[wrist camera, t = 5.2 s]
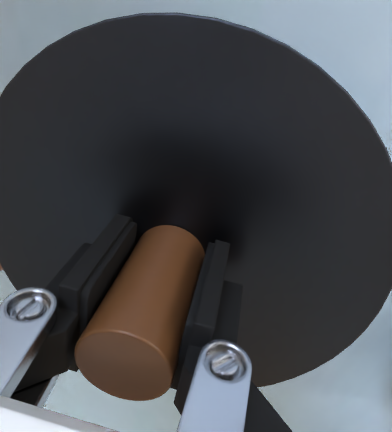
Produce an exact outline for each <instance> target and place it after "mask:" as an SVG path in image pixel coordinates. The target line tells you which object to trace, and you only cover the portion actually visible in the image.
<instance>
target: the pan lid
mask: <svg viewBox="0 0 392 432" xmlns="http://www.w3.org/2000/svg"><path fill="white" fill-rule="evenodd" d="M116 214H119V215H123V216H127V217H131V218H132V219H133V222H134V223H137V230H136V239H135V248H134V249H133V251H132V253H131V254H130V256H129V258H128V259H127V261H126V262H125V264H124V266H123V267H122V269H121V271H120V272H119V274H118V276H117V277H116V279H115V281H114V282H113V284H112V285H111V287H110V289H109V290H108V292H107V294H106V295H105V297H104V299H103V300H102V302H101V304H100V305H99V307H98V308H97V310H96V312H95V313H94V315H93V317H92V318H91V320H90V322H89V323H88V325H87V326H86V328H85V330H84V331H83V333H82V335H81V336H80V338H79V340H78V341H77V343H76V346H75V352H74V357H75V361H76V364H77V367H78V368H79V370H80V372H81V373H82V374H83V376H84V377H85V378H86V379H87V380H88V381H89V382H91V383H92V384H93V385H94V386H96V387H97V388H99V389H100V390H102V391H104V392H106V393H108V394H110V395H113V396H115V397H118V398H122V399H126V400H133V401H146V400H152V399H155V398H158V397H160V396H162V395H163V394H164V393H166V391H167V390H168V389H169V388H170V386H171V385H172V382H173V379H174V375H175V372H176V368H177V364H178V361H179V349H180V345H181V341H182V336H183V332H184V328H185V324H186V320H187V317H188V313H189V309H190V306H191V302H192V299H193V295H194V292H195V288H196V285H197V281H198V278H199V274H200V271H201V267H202V264H203V260H204V257H205V254H206V250H207V247H208V243H209V242H211V243H215V240H219V241H223V242H227V243H230V249H229V254H228V259H227V265H226V270H225V276H224V280H227V281H230V282H234V283H238V284H241V285H243V293H242V302H241V311H240V321H239V330H238V340H237V344H238V345H239V346H240V347H241V348H243V349H244V350H245V352H246V353H247V354H248V356H249V358H250V361H251V365H252V372H251V381H252V382H253V383H254V384H255V386H256V387H262V386H267V385H272V384H276V383H279V382H282V381H286V380H289V379H292V378H295V377H297V376H300V375H302V374H304V373H307V372H309V371H311V370H314V369H315V368H317V367H319V366H320V365H322V364H324V363H326V362H327V361H329V360H331V359H333V358H334V357H335V356H337V355H338V354H339V353H340V352H342V351H343V350H344V349H346V348H347V347H348V346H350V345H351V344H352V343H353V342H354V341H355V340H356V339H357V338H358V337H359V336H360V335H361V334H362V333H363V332H364V331H365V330H366V329H367V327H368V326H369V325H370V323H371V322H372V321H373V319H374V318H375V317H376V315H377V314H378V313H379V311H380V310H381V308H382V306H383V304H384V302H385V300H386V299H387V297H388V295H389V293H390V291H391V289H392V162H391V159H390V156H389V154H388V151H387V149H386V147H385V145H384V143H383V142H382V140H381V138H380V136H379V135H378V133H377V131H376V129H375V128H374V126H373V124H372V122H371V121H370V119H369V118H368V117H367V115H366V114H365V113H364V112H363V110H362V109H361V108H360V107H359V105H358V104H357V103H356V102H355V100H354V99H353V98H352V97H351V95H350V94H349V93H348V92H347V91H346V90H345V89H344V88H343V87H342V86H341V85H339V84H338V83H337V82H336V81H335V80H334V79H333V78H332V77H331V76H330V75H328V74H327V73H326V72H325V71H324V70H323V69H322V68H321V67H320V66H319V65H317V64H316V63H314V62H313V61H311V60H310V59H308V58H307V57H305V56H304V55H302V54H301V53H299V52H298V51H296V50H295V49H293V48H291V47H290V46H288V45H287V44H285V43H283V42H280V41H278V40H276V39H274V38H272V37H270V36H268V35H265V34H263V33H261V32H259V31H257V30H255V29H252V28H249V27H246V26H242V25H239V24H235V23H232V22H229V21H225V20H222V19H218V18H213V17H206V16H198V15H191V14H183V13H140V14H134V15H129V16H123V17H118V18H112V19H107V20H103V21H101V22H98V23H95V24H92V25H90V26H87V27H84V28H81V29H78V30H76V31H73V32H72V33H70V34H68V35H66V36H65V37H63V38H61V39H59V40H57V41H56V42H54V43H52V44H50V45H49V46H47V47H46V48H45V49H43V50H42V51H41V52H40V53H38V54H37V55H36V56H35V57H34V58H32V59H31V60H30V61H29V62H27V63H26V64H25V65H24V66H23V67H22V68H21V70H20V71H19V72H18V73H17V74H16V75H15V77H14V78H13V79H12V80H11V81H10V82H9V84H8V85H7V86H6V88H5V89H4V91H3V93H2V94H1V96H0V265H1V267H2V268H3V270H4V271H5V273H6V275H7V276H8V278H9V280H10V281H11V283H12V284H13V286H14V287H15V288H16V290H17V291H18V290H21V289H24V288H31V287H37V288H44V289H45V287H46V286H47V285H48V284H49V283H50V282H51V280H52V279H53V278H54V277H55V276H56V275H57V273H58V272H59V271H60V270H61V269H62V268H63V266H64V265H65V264H66V263H67V262H68V261H69V259H70V258H71V257H72V256H73V255H74V254H75V252H76V251H77V250H78V249H79V248H80V247H81V245H83V244H84V243H89V244H92V243H93V242H94V241H95V240H96V239H97V237H98V236H99V235H100V234H101V232H102V231H103V230H104V229H105V228H106V226H107V225H108V224H109V223H110V221H111V220H112V219H113V218H114V216H115V215H116Z"/></svg>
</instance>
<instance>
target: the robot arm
mask: <svg viewBox="0 0 392 432" xmlns="http://www.w3.org/2000/svg"><path fill="white" fill-rule="evenodd" d="M136 230H137V223H134V222H133V219H132V218H131V217H127V216H123V215H119V214H116V215H115V216H114V218H113V219H112V220H111V221H110V223H109V224H108V225H107V226H106V228H105V229H104V230H103V231H102V232H101V234H100V235H99V236H98V237H97V239H96V240H95V241H94V242H93V243H92V244H89V243H84V244H83V245H81V247H80V248H79V249H78V250H77V251H76V252H75V254H74V255H73V256H72V257H71V258H70V259H69V261H68V262H67V263H66V264H65V265H64V266H63V268H62V269H61V270H60V271H59V272H58V273H57V275H56V276H55V277H54V278H53V279H52V280H51V282H50V283H49V284H48V285H47V286H46V287H45V289H44V288H37V287H31V288H24V289H21V290H18V291H16V292H14V293H12V294H10V295H9V296H8V297H7V298H6V299H4V301H3V302H2V303H1V304H0V432H118V431H115V430H112V429H109V428H105V427H102V426H99V425H96V424H92V423H89V422H86V421H83V420H79V419H76V418H73V417H70V416H67V415H63V414H60V413H57V412H53V411H50V410H47V409H44V408H43V406H44V404H45V402H46V401H47V399H48V397H49V395H50V393H51V391H52V389H53V387H54V385H55V383H56V381H57V379H58V376H59V374H61V373H64V372H66V371H68V369H69V370H72V371H75V372H77V371H78V369H79V368H78V367H77V364H76V361H75V357H74V352H75V346H76V343H77V341H78V340H79V338H80V336H81V335H82V333H83V331H84V330H85V328H86V326H87V325H88V323H89V322H90V320H91V318H92V317H93V315H94V313H95V312H96V310H97V308H98V307H99V305H100V304H101V302H102V300H103V299H104V297H105V295H106V294H107V292H108V290H109V289H110V287H111V285H112V284H113V282H114V281H115V279H116V277H117V276H118V274H119V272H120V271H121V269H122V267H123V266H124V264H125V262H126V261H127V259H128V258H129V256H130V254H131V253H132V251H133V249H134V248H135V239H136ZM229 249H230V243H227V242H223V241H219V240H215V243H211V242H209V243H208V247H207V250H206V254H205V257H204V260H203V264H202V267H201V271H200V274H199V278H198V281H197V285H196V288H195V292H194V295H193V299H192V302H191V306H190V309H189V313H188V317H187V320H186V324H185V328H184V332H183V336H182V341H181V345H180V349H179V361H178V364H177V368H176V372H175V375H174V379H173V382H172V385H171V387H170V388H173V389H176V390H177V392H176V396H175V400H174V404H175V406H176V408H177V409H178V411H179V413H180V414H181V418H180V422H179V425H178V428H177V432H292V431H291V429H290V428H289V427H288V426H287V424H286V423H285V422H284V421H283V419H282V418H281V417H280V416H279V414H278V413H277V412H276V411H275V409H274V408H273V407H272V406H271V404H270V403H269V402H268V401H267V399H266V398H265V397H264V396H263V394H262V393H261V392H260V391H259V389H258V388H257V387H256V386H255V384H254V383H253V382H252V381H251V372H252V365H251V361H250V358H249V356H248V354H247V353H246V352H245V350H244V349H243V348H241V347H240V346H239V345H238V344H237V340H238V330H239V321H240V311H241V302H242V293H243V285H241V284H238V283H234V282H230V281H227V280H224V276H225V270H226V265H227V259H228V254H229Z"/></svg>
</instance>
